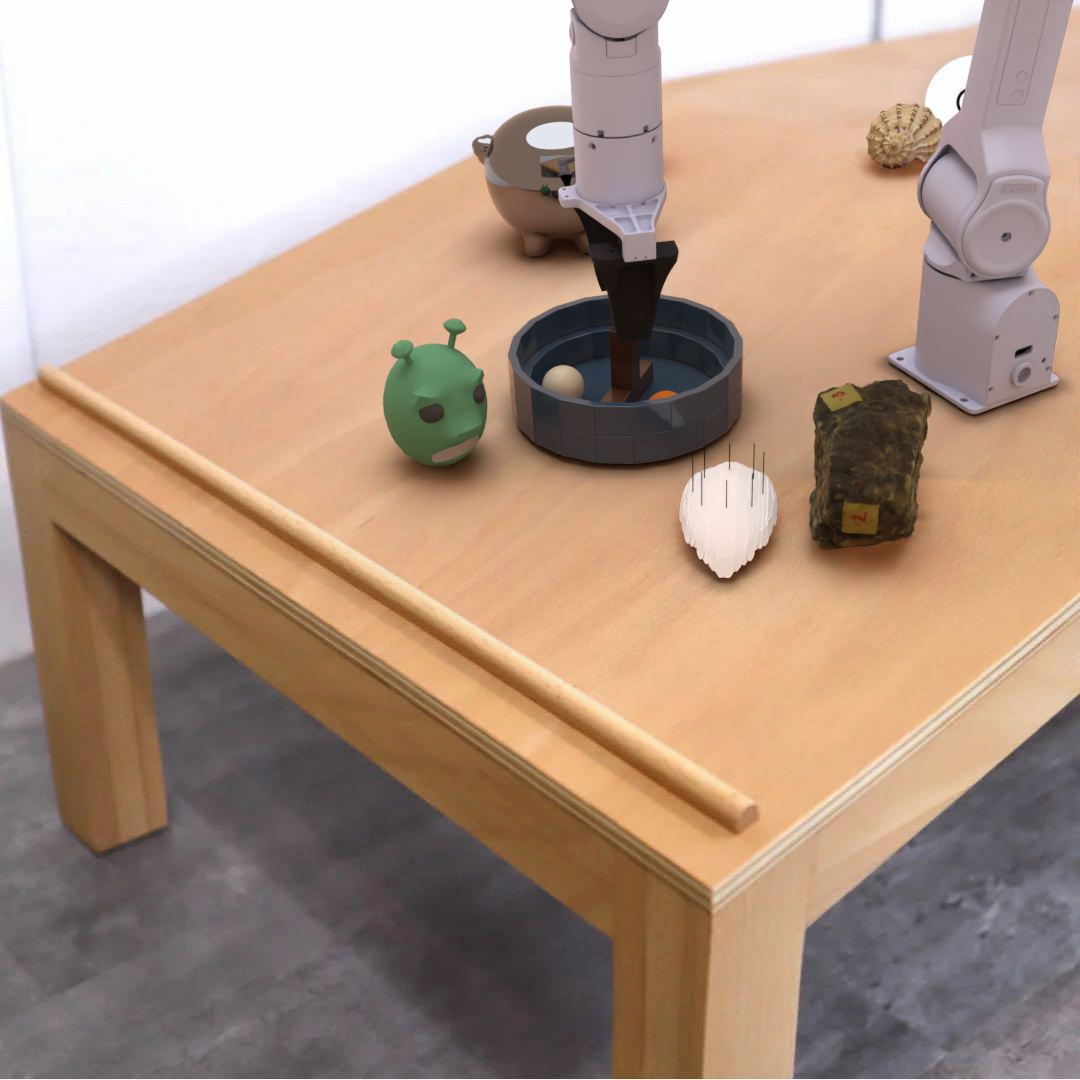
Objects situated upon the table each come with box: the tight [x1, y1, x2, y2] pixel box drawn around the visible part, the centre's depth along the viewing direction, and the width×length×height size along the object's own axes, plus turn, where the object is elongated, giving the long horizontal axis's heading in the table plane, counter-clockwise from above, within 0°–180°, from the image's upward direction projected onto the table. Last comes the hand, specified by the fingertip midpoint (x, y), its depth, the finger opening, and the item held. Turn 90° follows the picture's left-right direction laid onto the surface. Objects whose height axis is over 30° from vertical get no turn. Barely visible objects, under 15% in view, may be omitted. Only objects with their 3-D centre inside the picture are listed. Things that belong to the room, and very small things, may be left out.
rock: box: [808, 378, 933, 551], centre depth 99 cm, size 12×9×8 cm
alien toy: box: [382, 318, 488, 467], centre depth 107 cm, size 7×8×10 cm
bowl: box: [507, 294, 744, 465], centre depth 112 cm, size 16×16×5 cm
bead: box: [542, 365, 584, 399], centre depth 113 cm, size 3×3×3 cm
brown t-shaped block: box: [600, 326, 653, 403], centre depth 112 cm, size 7×2×6 cm, turn 157°
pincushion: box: [678, 442, 779, 579], centre depth 99 cm, size 12×6×6 cm, turn 172°
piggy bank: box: [471, 104, 589, 258], centre depth 134 cm, size 11×15×12 cm
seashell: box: [865, 102, 944, 171], centre depth 145 cm, size 8×6×10 cm
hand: (624, 312), depth 109 cm, fingers open, 7 cm apart
